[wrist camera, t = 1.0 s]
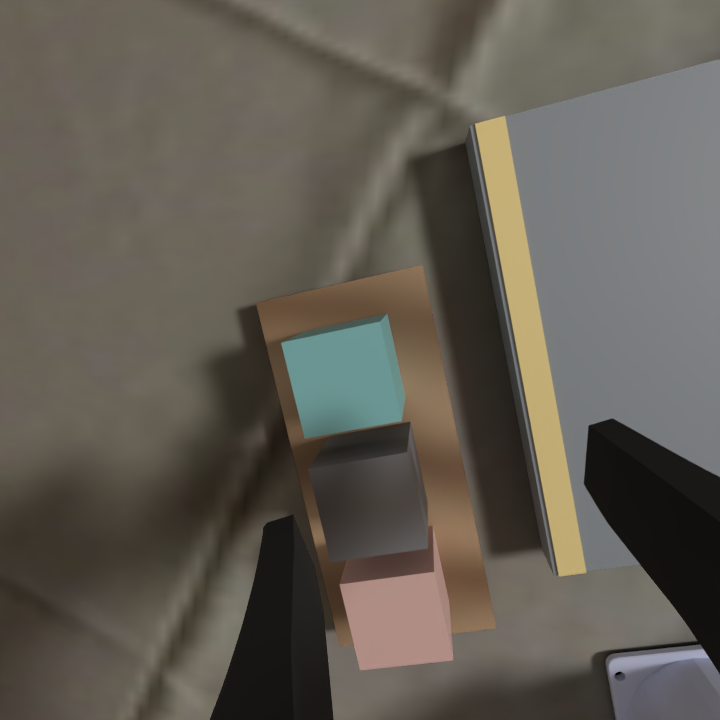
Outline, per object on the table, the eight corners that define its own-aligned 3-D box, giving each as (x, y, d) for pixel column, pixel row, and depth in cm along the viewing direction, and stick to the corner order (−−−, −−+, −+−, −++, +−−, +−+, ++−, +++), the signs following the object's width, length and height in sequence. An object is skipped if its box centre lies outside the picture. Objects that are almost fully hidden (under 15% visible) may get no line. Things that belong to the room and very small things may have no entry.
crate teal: (405, 397, 24) (401, 421, 20) (323, 412, 25) (304, 438, 21) (387, 313, 23) (380, 321, 19) (304, 331, 24) (281, 342, 20)
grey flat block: (852, 505, 24) (905, 532, 21) (541, 547, 26) (554, 577, 23) (802, 53, 21) (854, 22, 19) (465, 142, 23) (470, 125, 21)
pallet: (491, 603, 27) (511, 702, 21) (345, 621, 28) (322, 719, 22) (422, 266, 25) (421, 260, 19) (268, 301, 26) (218, 307, 20)
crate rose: (449, 601, 25) (453, 660, 21) (370, 611, 26) (360, 670, 22) (433, 525, 25) (434, 571, 21) (352, 537, 25) (339, 584, 21)
